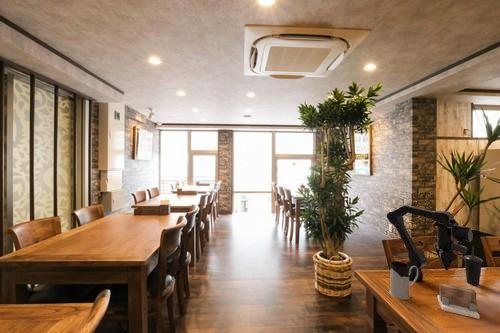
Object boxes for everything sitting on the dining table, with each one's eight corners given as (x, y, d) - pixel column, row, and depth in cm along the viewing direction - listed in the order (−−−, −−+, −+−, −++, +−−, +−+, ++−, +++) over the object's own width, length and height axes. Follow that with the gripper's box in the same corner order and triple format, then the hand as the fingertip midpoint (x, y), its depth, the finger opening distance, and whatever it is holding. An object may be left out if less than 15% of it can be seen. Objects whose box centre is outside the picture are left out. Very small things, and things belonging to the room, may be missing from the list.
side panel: (442, 310, 103) (442, 300, 103) (437, 298, 113) (437, 288, 113) (479, 318, 97) (479, 308, 97) (470, 305, 107) (470, 295, 107)
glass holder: (385, 290, 120) (385, 260, 120) (411, 289, 121) (411, 260, 121) (397, 299, 111) (397, 268, 111) (425, 298, 112) (425, 267, 112)
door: (440, 301, 107) (440, 285, 107) (439, 298, 109) (439, 283, 109) (476, 309, 101) (476, 293, 101) (474, 305, 103) (474, 289, 103)
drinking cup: (486, 287, 123) (486, 249, 123) (469, 286, 124) (469, 248, 124) (475, 281, 130) (475, 245, 130) (459, 279, 132) (460, 244, 132)
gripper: (471, 244, 108) (471, 277, 108) (460, 234, 124) (460, 263, 124) (440, 240, 114) (440, 272, 113) (433, 231, 130) (433, 259, 130)
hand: (444, 266), depth 120 cm, fingers open, 9 cm apart
